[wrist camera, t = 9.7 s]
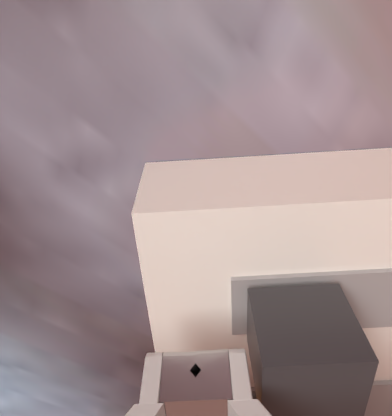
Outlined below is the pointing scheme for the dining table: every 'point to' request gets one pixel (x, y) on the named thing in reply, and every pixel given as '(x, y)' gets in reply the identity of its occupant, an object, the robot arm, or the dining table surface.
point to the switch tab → (308, 351)
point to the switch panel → (265, 245)
